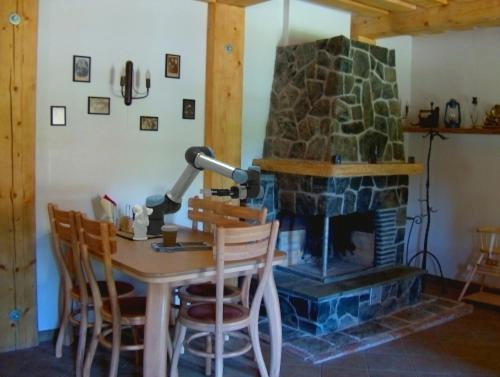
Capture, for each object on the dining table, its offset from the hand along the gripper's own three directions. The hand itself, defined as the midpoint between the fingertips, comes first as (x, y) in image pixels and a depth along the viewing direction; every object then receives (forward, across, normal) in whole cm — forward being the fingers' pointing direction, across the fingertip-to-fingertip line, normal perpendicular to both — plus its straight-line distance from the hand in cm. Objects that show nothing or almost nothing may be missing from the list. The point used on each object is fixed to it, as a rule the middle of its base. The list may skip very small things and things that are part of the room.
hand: (202, 192), depth 334 cm
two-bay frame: (+14, -11, -30) cm, 35 cm away
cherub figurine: (+31, +20, -30) cm, 47 cm away
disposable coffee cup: (+20, -8, -30) cm, 37 cm away
